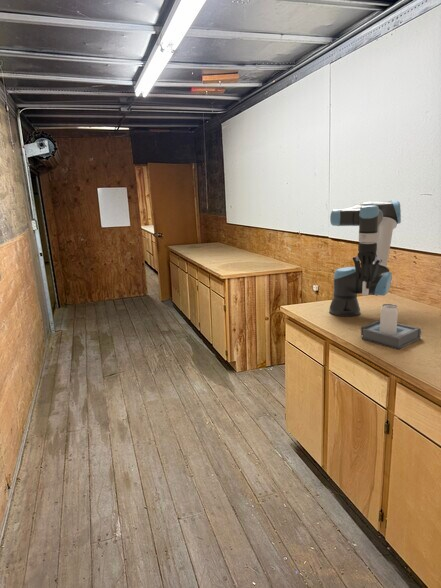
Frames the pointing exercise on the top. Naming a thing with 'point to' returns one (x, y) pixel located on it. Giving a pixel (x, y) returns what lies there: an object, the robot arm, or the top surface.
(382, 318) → the can
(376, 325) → the tray
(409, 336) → the tray
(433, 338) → the top surface
